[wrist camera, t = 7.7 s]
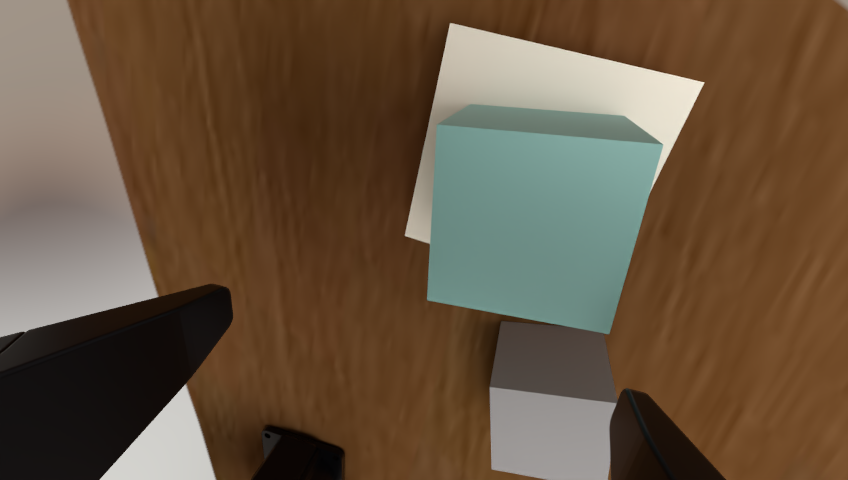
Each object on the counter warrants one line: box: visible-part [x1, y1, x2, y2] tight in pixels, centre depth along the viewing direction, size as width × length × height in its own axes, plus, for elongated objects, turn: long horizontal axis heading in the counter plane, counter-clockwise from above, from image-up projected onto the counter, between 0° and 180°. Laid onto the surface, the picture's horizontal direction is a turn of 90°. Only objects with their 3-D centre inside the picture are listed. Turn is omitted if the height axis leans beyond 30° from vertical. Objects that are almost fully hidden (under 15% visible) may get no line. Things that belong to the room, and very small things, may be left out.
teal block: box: [427, 104, 663, 334], centre depth 13 cm, size 5×5×5 cm
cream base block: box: [405, 23, 704, 244], centre depth 16 cm, size 8×8×4 cm
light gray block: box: [490, 321, 617, 480], centre depth 20 cm, size 5×5×5 cm
